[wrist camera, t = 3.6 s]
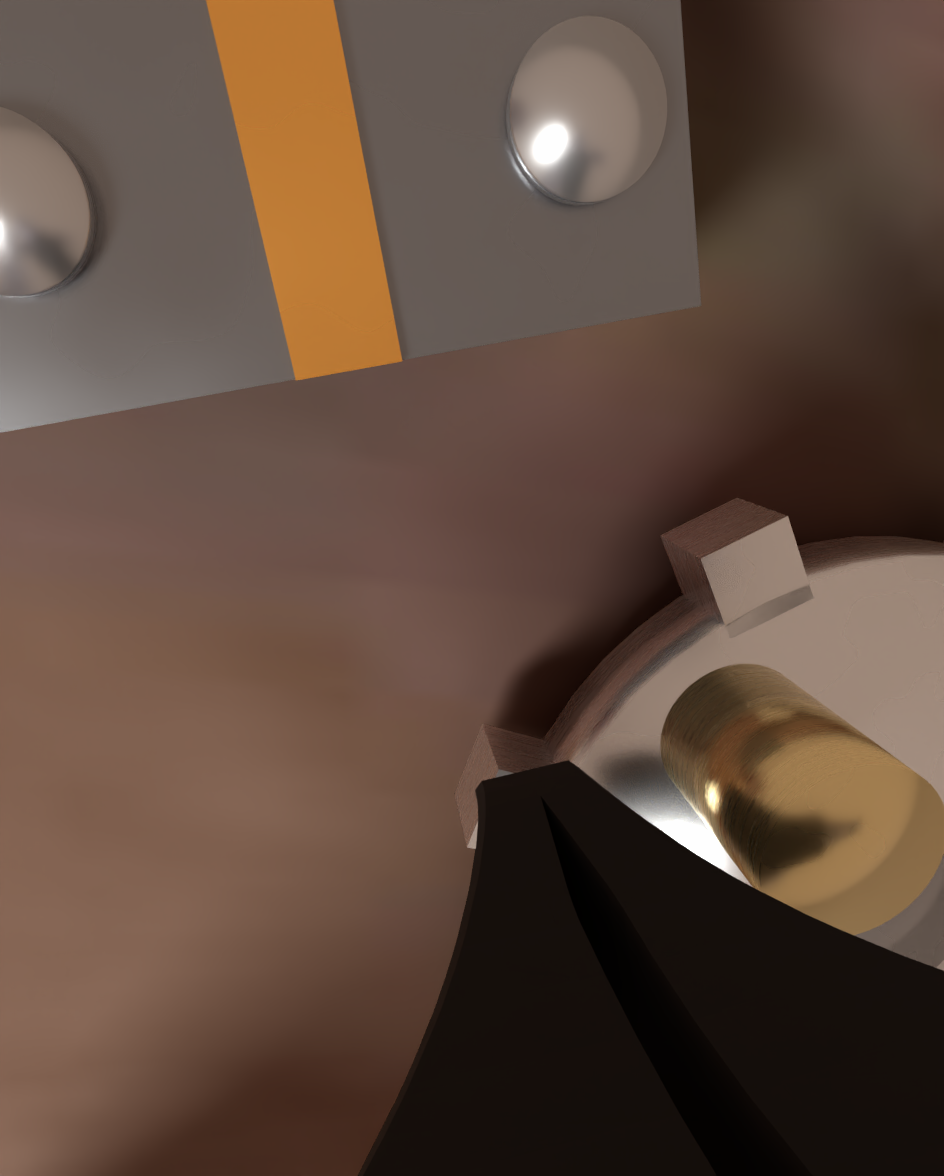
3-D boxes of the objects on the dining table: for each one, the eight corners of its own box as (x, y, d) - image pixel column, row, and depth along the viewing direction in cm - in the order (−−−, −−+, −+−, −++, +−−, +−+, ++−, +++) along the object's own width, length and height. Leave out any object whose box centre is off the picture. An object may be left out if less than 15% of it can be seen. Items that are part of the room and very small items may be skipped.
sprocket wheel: (930, 1164, 18) (1110, 1414, 14) (339, 1084, 14) (334, 1386, 10) (1288, 613, 15) (1670, 716, 10) (634, 337, 11) (808, 326, 7)
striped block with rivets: (123, 405, 11) (-51, 443, 6) (43, 147, 10) (-240, -44, 5) (564, 326, 12) (712, 305, 7) (533, 75, 11) (683, -156, 6)
